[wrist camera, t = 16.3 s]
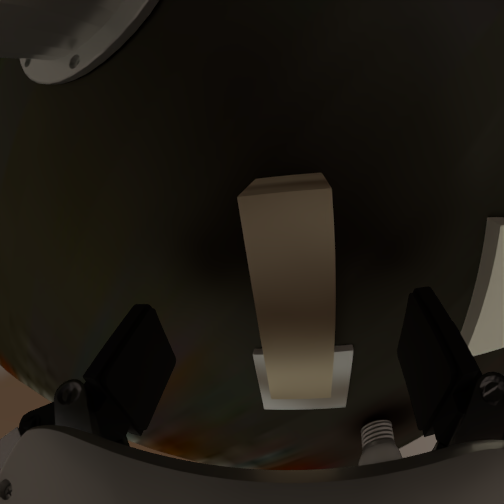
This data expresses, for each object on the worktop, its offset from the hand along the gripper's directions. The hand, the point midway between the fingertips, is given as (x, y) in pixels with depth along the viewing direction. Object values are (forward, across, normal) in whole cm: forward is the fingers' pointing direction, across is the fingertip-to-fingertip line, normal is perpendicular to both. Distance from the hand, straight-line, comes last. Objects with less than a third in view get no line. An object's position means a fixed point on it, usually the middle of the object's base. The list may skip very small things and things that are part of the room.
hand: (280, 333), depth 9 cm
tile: (+4, -16, -2) cm, 16 cm away
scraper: (+5, -1, +4) cm, 6 cm away
